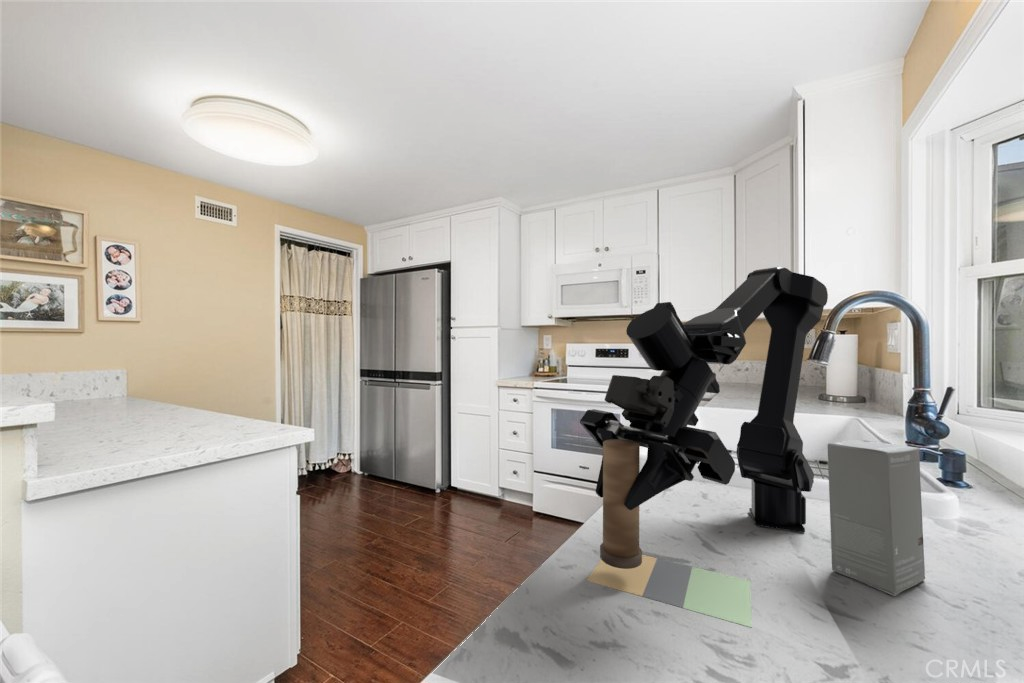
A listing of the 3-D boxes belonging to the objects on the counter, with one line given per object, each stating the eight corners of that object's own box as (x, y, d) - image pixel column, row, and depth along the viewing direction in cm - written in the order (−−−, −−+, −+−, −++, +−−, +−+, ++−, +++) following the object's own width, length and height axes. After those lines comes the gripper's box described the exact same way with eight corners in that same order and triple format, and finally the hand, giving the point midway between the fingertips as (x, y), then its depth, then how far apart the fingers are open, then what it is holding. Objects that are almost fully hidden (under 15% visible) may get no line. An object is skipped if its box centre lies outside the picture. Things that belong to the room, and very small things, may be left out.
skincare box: (895, 599, 46) (895, 454, 46) (822, 568, 52) (823, 441, 52) (929, 580, 50) (929, 446, 50) (857, 553, 56) (857, 435, 56)
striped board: (587, 591, 47) (587, 580, 47) (609, 556, 55) (609, 546, 55) (751, 640, 39) (751, 627, 39) (750, 591, 47) (750, 580, 47)
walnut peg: (596, 563, 46) (597, 445, 46) (603, 545, 51) (604, 437, 51) (640, 572, 45) (640, 449, 45) (643, 552, 49) (643, 440, 49)
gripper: (590, 350, 58) (523, 439, 52) (719, 352, 42) (644, 482, 36) (629, 403, 62) (572, 492, 56) (761, 423, 46) (700, 550, 40)
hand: (612, 501), depth 47 cm, fingers closed on walnut peg, 4 cm apart
